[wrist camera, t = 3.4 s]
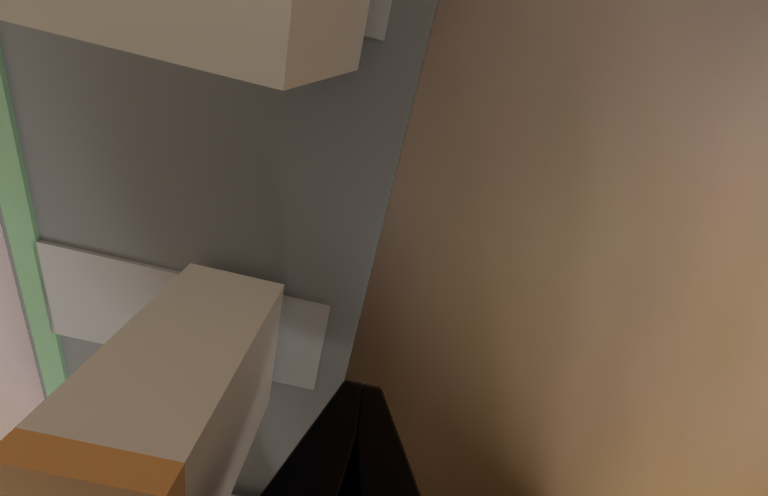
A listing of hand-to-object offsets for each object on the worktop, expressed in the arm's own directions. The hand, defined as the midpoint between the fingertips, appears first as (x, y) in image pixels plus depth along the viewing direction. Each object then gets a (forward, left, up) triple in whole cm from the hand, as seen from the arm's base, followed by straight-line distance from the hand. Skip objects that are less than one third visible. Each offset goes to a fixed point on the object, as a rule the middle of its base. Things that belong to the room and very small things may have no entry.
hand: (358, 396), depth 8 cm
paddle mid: (+3, 0, -1) cm, 3 cm away
